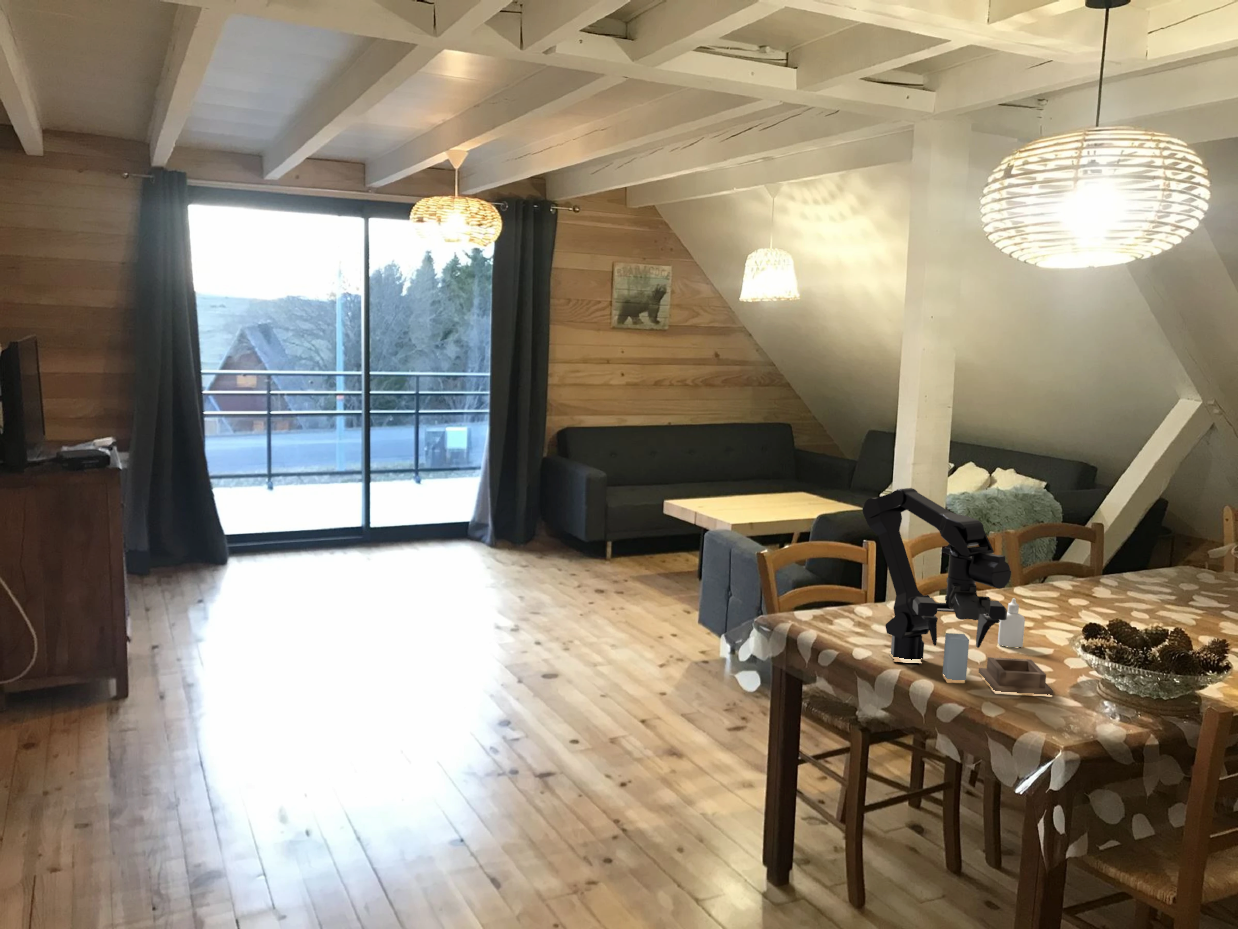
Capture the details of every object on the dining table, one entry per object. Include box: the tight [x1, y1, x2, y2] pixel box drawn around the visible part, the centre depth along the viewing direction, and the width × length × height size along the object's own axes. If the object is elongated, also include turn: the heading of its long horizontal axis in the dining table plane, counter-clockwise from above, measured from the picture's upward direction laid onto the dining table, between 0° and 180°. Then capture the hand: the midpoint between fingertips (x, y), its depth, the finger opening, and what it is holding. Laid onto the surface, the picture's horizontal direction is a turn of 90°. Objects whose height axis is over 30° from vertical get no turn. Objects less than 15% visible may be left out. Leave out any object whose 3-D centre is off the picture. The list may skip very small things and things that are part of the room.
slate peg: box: [942, 632, 970, 681], centre depth 212 cm, size 4×4×10 cm
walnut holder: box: [978, 657, 1054, 696], centre depth 210 cm, size 12×12×4 cm
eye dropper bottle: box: [997, 597, 1026, 648], centre depth 236 cm, size 4×6×12 cm
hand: (956, 646), depth 212 cm, fingers open, 9 cm apart
